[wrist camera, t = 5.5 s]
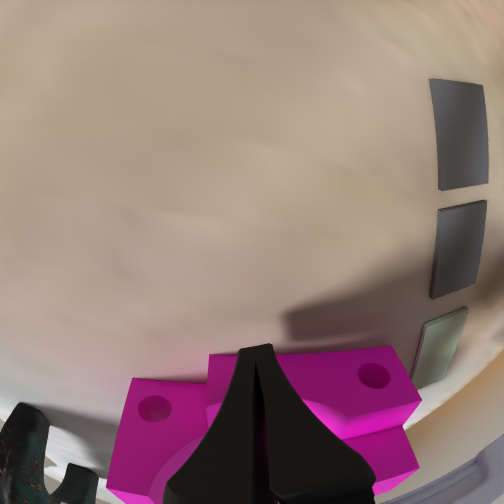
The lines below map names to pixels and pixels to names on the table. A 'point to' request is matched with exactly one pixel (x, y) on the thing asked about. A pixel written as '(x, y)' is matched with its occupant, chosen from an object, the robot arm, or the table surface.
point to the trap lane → (454, 217)
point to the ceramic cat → (36, 464)
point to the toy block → (307, 387)
